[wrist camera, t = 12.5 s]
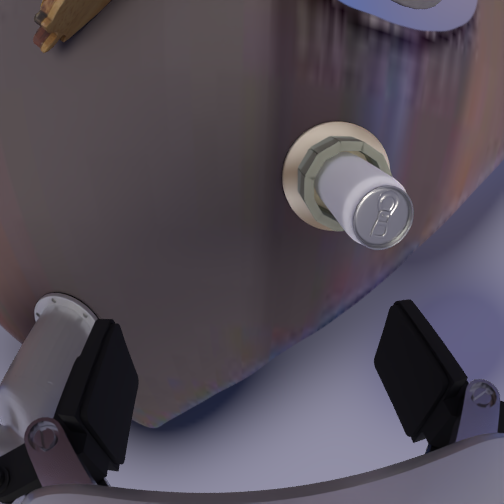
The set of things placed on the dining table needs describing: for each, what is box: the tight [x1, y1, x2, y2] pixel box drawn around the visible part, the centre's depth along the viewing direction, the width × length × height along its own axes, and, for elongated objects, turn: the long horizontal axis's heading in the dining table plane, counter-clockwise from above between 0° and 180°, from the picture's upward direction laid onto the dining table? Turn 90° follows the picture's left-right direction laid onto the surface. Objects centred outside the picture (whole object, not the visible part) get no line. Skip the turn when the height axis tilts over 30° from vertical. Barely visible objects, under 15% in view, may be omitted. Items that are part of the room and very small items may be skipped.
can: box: [314, 152, 414, 250], centre depth 29 cm, size 6×6×12 cm
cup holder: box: [282, 121, 392, 231], centre depth 33 cm, size 13×13×4 cm
